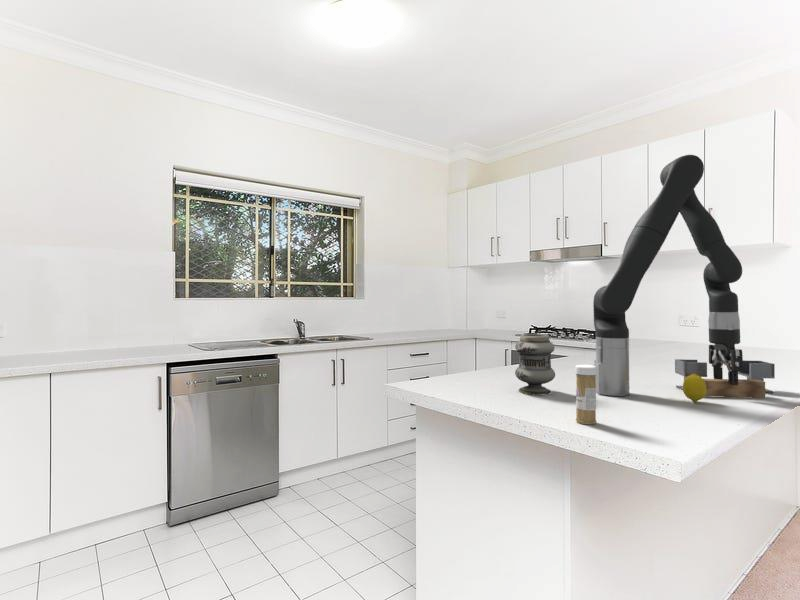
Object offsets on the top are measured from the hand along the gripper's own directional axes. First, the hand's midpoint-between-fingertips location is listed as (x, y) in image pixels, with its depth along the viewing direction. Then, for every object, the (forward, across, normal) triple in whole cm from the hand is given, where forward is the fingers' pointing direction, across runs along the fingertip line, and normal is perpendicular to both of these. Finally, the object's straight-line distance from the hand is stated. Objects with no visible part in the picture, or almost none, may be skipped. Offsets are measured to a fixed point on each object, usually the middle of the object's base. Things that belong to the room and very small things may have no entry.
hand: (725, 382), depth 132 cm
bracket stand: (+4, -9, +3) cm, 11 cm away
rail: (+4, 0, -1) cm, 4 cm away
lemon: (+4, +10, -12) cm, 17 cm away
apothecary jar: (+3, +2, -54) cm, 55 cm away
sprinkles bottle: (+3, +36, -46) cm, 59 cm away
